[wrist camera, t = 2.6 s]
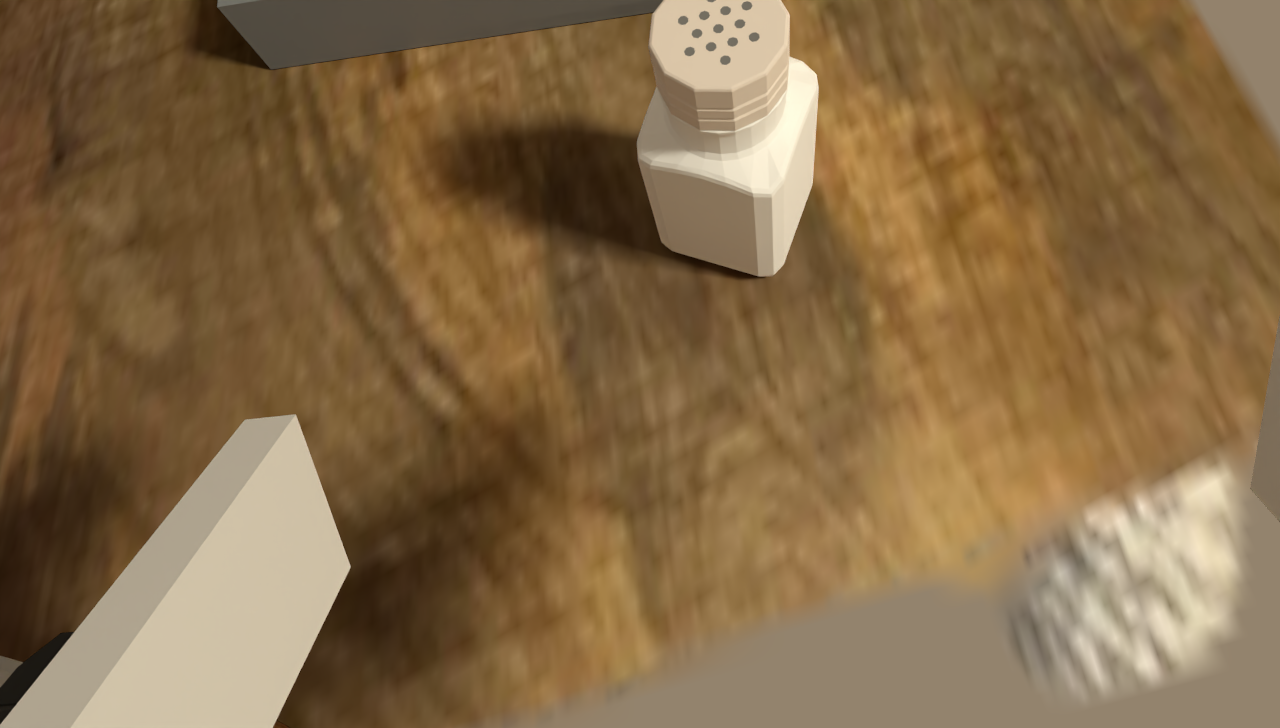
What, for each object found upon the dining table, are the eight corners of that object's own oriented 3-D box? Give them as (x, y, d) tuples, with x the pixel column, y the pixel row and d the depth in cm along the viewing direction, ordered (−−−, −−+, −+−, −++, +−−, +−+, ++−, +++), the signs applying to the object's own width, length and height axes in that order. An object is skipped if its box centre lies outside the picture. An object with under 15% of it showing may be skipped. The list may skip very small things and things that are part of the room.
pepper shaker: (817, 176, 31) (832, -26, 22) (777, 289, 30) (775, 126, 21) (699, 145, 31) (665, -62, 22) (656, 253, 31) (604, 82, 22)
